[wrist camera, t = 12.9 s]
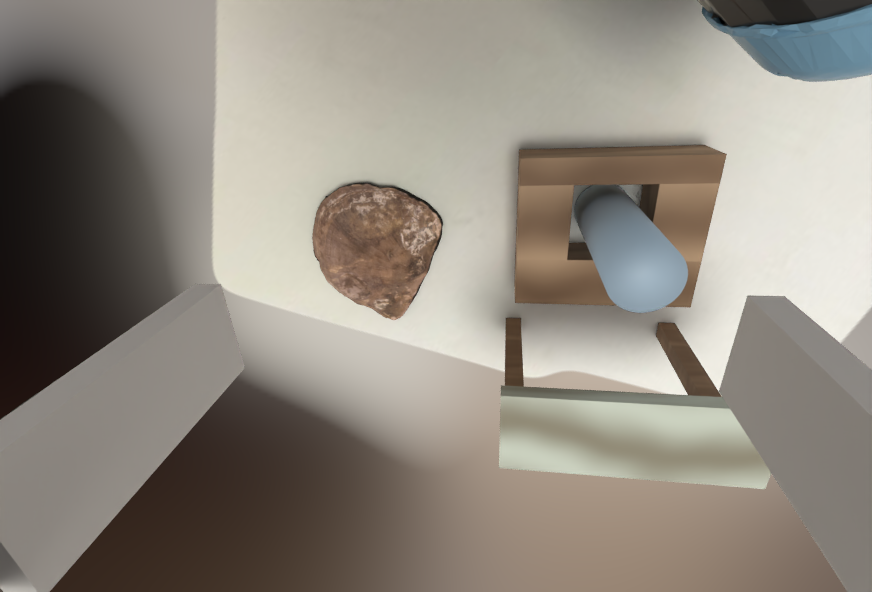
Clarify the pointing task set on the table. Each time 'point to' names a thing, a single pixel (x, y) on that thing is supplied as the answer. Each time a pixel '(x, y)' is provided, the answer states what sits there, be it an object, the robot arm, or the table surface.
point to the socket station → (581, 284)
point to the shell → (376, 245)
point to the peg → (629, 250)
